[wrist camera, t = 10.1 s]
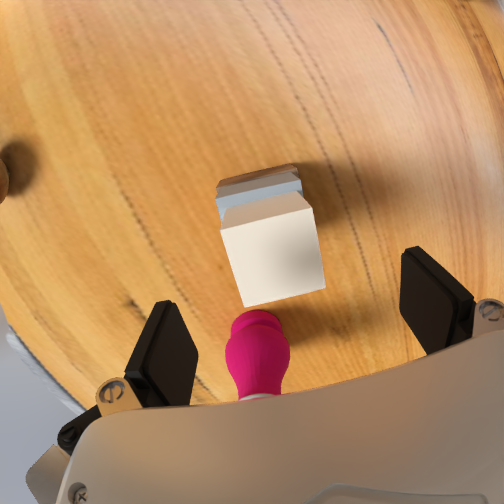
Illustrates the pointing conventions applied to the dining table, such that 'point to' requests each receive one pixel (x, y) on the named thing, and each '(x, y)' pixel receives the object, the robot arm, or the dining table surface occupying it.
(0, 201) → the onion
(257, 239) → the cream block
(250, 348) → the pepper mill
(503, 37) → the dining table surface
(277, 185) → the slate block
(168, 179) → the dining table surface
